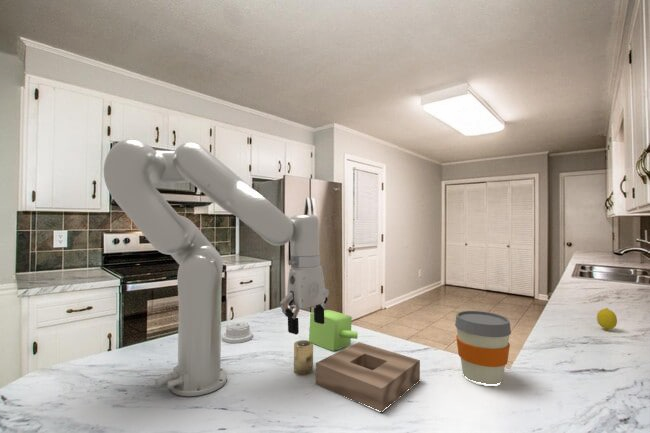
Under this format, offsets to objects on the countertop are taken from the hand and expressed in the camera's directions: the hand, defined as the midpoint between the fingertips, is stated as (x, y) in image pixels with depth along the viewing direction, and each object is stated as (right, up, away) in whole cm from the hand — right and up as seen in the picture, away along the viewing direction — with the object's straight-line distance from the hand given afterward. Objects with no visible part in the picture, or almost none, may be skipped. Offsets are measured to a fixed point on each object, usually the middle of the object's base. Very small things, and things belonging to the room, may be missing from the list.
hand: (306, 327), depth 84 cm
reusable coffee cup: (+44, -12, -3) cm, 46 cm away
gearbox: (+8, -12, +19) cm, 23 cm away
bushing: (-1, -11, 0) cm, 11 cm away
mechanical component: (-24, -12, +23) cm, 35 cm away
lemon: (+107, -13, +33) cm, 113 cm away
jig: (+15, -11, -6) cm, 20 cm away
